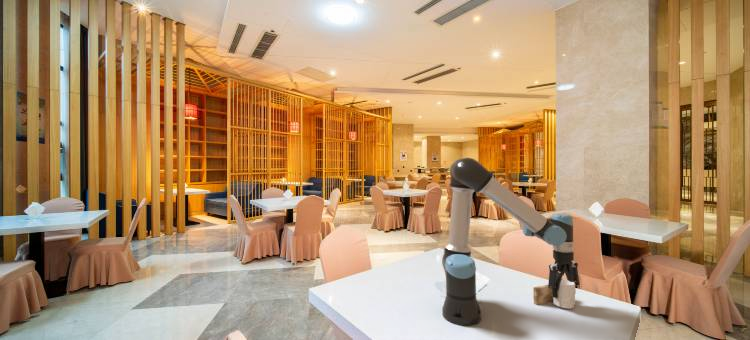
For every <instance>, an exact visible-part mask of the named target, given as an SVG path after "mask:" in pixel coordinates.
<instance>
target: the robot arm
mask: <svg viewBox="0 0 750 340" xmlns="http://www.w3.org/2000/svg"><path fill="white" fill-rule="evenodd" d="M449 168H450V169H449V175H450V180H449V181H450V182H449V187H450V189H451V190H452V197H451V198H452V199H451V209H450V221H449V231H448V232H449V233H448V242H447V243H446V244H445V245H444V251H443V256H442V259H441V262H442V263H441V264H442V267H443V270H444V271H443V272H444V274H445V289H446V291H445V293H446V294H445V299H444V301H443V302H444V303H443V306H442V308H441V309H442V310H441V311H442V316H443V318H444V319H445V320H447V322H449V323H453V324H454V325H455V324H456V325H461V326H472V325H476V324H478V323H480V322H481V321H482V311H481V308H480V305H479V302H478V300H477V285H476V283H477V280H476V279H477V278H476V277H477V276H476V275H477V274H476V270H477V267H476V262H475V260H474V259H473V257H471V256H472V255H471V254H472V249H471V248H470V247H469V238H470V226H471V225H470V224H471V215H472V214H471V213H472V203H473V194H474V192H476V193H477V194H480V193H481V194H483V195H484V196H485V197H487V199H488V200H491V202H493V203H494V204H496V205H497V206H498V207H499V208H501V209H502V210H503V211H504V212H506V213H508V214H509V215H510V216H511V217H513V218H514V219H515V220H517V222H519V223H520V224H521V229H522V233H523V235H524V236H526V237H537V238H538V239H540V240H541V241H543V242H544V243H546V244H548V245H551V246H552V249H553V250H552V258H553V260H554V264H549V265H548V268H549V271H548V272H549V275H548V284H547V285H548V288H550V289H552V290H553V300H554V301H553V305H554V306H555V305H556V306H557V307H559V308H561V307H560V306H561V300H560V291H559V287H560V283H561V279H563V276H564V275H565V276H566V277H565V278H566V279H567V280H568V281H570V282H574V283H575V289H578V288H579V286H580V279H579V271H578V267H579V264H578V262H575V261H574V260H575V255H574V254H575V253H574V220H573V219H574V218H573V216H572V215H571V214H566V213H554V214H551V218H547V217H546V216H544V215H543V214H542V213H540V212H539V211H538V210H536V209H535V208H534V207H532V206H531V205H530V204H528V203H527V202H526V201H525V200H523V199H522V198H521V197H519V196H518V195H517V194H516V193H514V192H513V191H512V190H510V189H509V188H508V187H506V186H505V185H503V184H502V183H501V182H499V181H498V180H497V179H495V177H494V176H495V175H494V174H493V173H492V172H490V170H488V169H487V168H486V167H484V166H483V164H482V163H480V162H479V161H478V160H476V159H475V158H471V157H463V158H459V159H457V160H455V161H454V162H453V163H452V164H451V166H450V167H449ZM574 304H576V300H575V301H574Z"/></svg>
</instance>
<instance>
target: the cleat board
mask: <svg viewBox="0 0 750 340" xmlns="http://www.w3.org/2000/svg"><path fill="white" fill-rule="evenodd" d="M532 288H533V290H532V291H533V304H534V305H537V306H538V305H541V304H546V303H547V304H548V303H552V302H553V303H554V300H553V290H552V289H550V288H548V284H545V285H540V286H539V285H538V286H534V287H532Z"/></svg>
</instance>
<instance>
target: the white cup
mask: <svg viewBox="0 0 750 340" xmlns="http://www.w3.org/2000/svg"><path fill="white" fill-rule="evenodd" d="M559 291H560V300H561V306H560V307H559V308H563V309H568V310H570V309H574V307H575V303H574V301H575V302H576V288H575V283H574V282H570V281H568V280H567V278H562V279H561V283H560V287H559Z"/></svg>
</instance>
